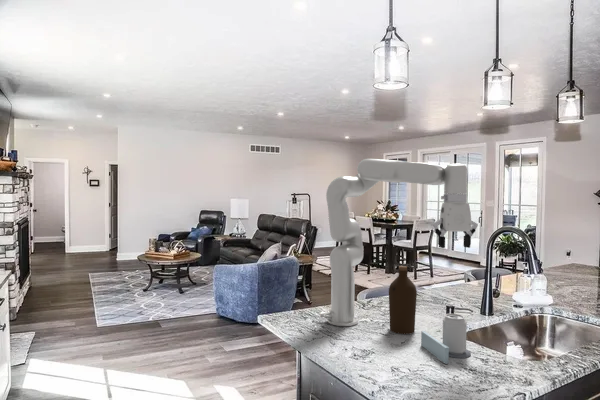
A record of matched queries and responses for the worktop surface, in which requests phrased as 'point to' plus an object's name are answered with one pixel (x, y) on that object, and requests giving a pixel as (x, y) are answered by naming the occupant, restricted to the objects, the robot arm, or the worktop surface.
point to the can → (455, 333)
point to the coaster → (461, 355)
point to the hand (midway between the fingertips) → (454, 247)
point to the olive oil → (402, 303)
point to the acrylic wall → (435, 347)
